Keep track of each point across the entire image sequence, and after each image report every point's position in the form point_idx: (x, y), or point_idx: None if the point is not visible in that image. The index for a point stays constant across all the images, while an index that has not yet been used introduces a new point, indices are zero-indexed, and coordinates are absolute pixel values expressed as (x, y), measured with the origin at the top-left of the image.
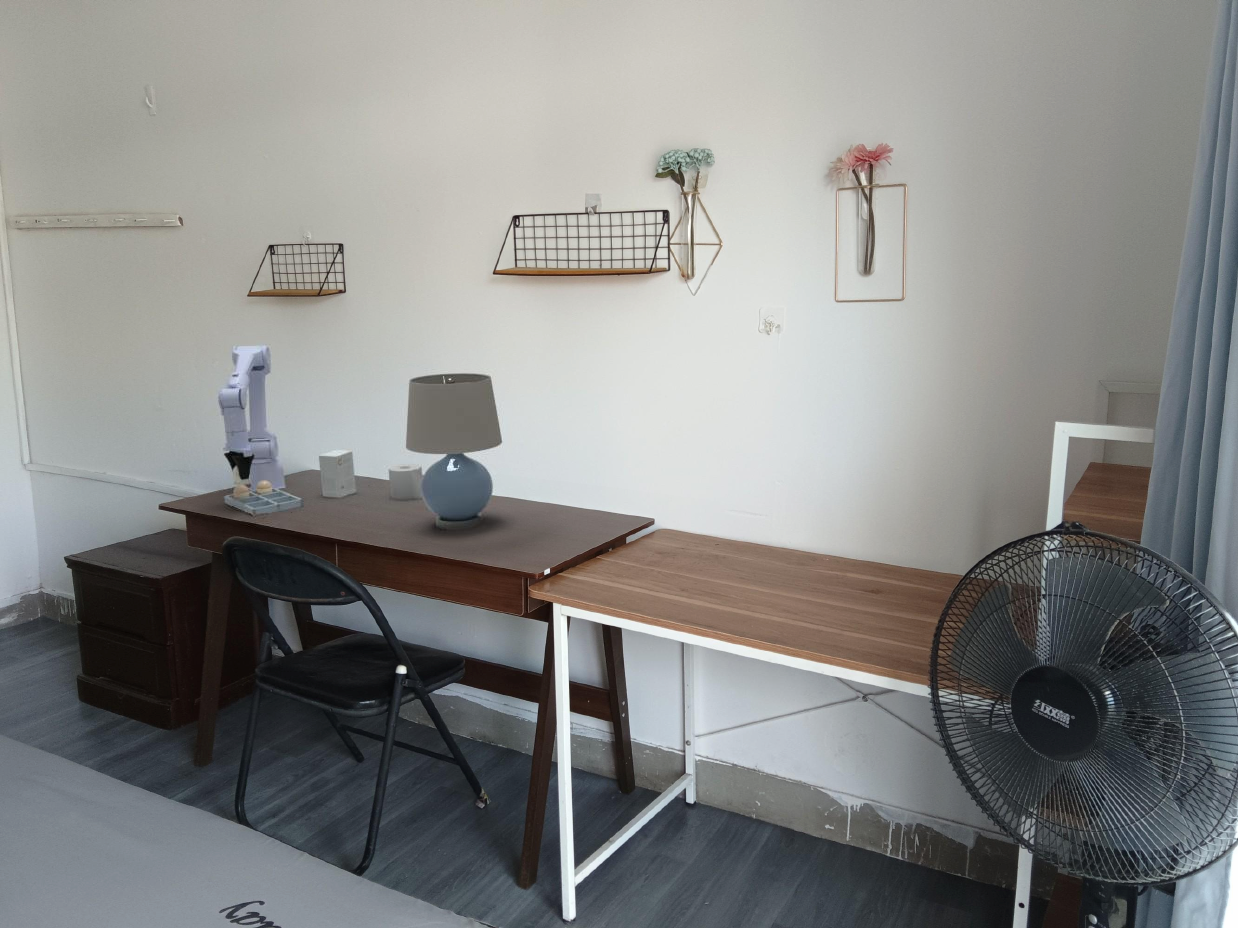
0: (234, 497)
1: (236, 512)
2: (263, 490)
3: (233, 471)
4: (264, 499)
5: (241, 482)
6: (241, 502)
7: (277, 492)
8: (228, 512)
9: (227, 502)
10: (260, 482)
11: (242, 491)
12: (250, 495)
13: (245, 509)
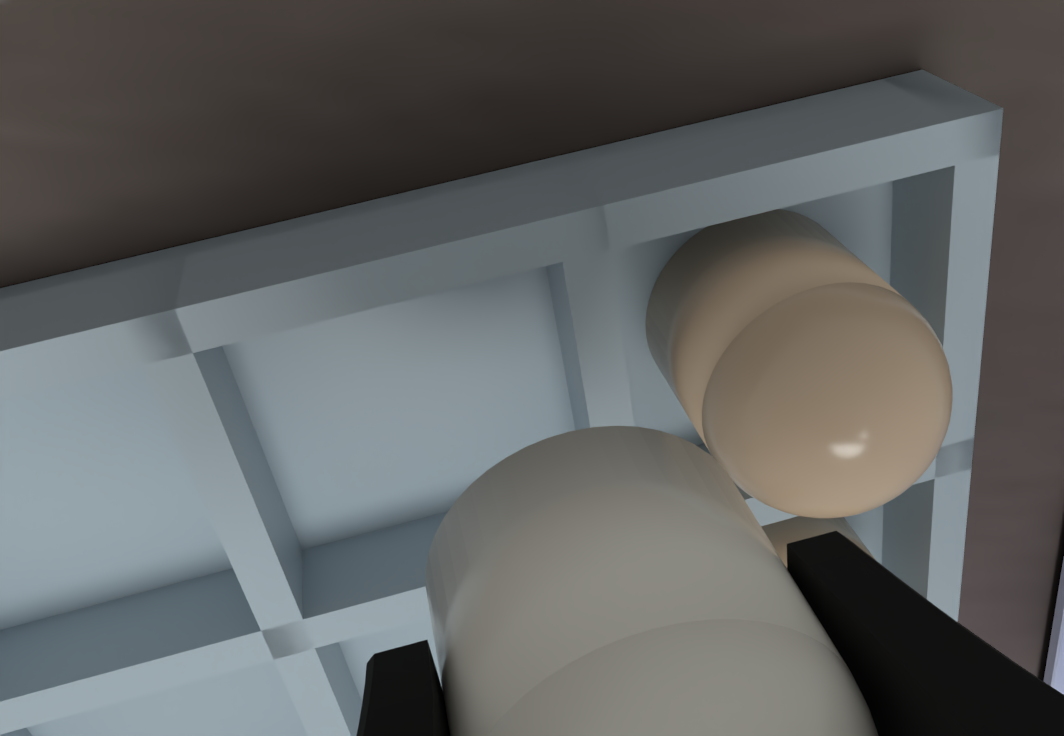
0: (786, 253)
1: (294, 161)
2: None
3: (648, 677)
4: (346, 604)
5: (432, 584)
6: (332, 316)
7: None
8: (370, 46)
9: (814, 117)
10: None
11: (719, 422)
12: None
13: (38, 314)
